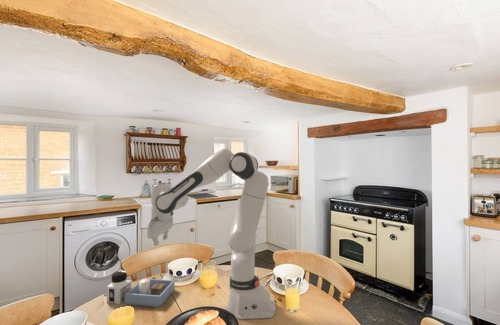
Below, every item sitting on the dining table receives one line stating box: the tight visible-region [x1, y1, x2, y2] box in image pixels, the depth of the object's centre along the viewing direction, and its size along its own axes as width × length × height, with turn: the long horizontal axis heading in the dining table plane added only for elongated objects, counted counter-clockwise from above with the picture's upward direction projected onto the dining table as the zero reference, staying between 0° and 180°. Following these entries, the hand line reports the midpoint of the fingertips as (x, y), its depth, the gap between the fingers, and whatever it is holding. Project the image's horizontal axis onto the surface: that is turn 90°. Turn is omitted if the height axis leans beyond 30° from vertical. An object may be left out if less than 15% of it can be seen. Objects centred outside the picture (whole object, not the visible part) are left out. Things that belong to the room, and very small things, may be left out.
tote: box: [124, 278, 176, 308], centre depth 121 cm, size 18×16×5 cm
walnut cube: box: [150, 283, 165, 295], centre depth 120 cm, size 5×5×5 cm
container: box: [106, 270, 132, 305], centre depth 119 cm, size 8×8×13 cm
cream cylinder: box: [138, 278, 151, 295], centre depth 121 cm, size 5×5×7 cm
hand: (160, 242), depth 123 cm, fingers open, 8 cm apart
